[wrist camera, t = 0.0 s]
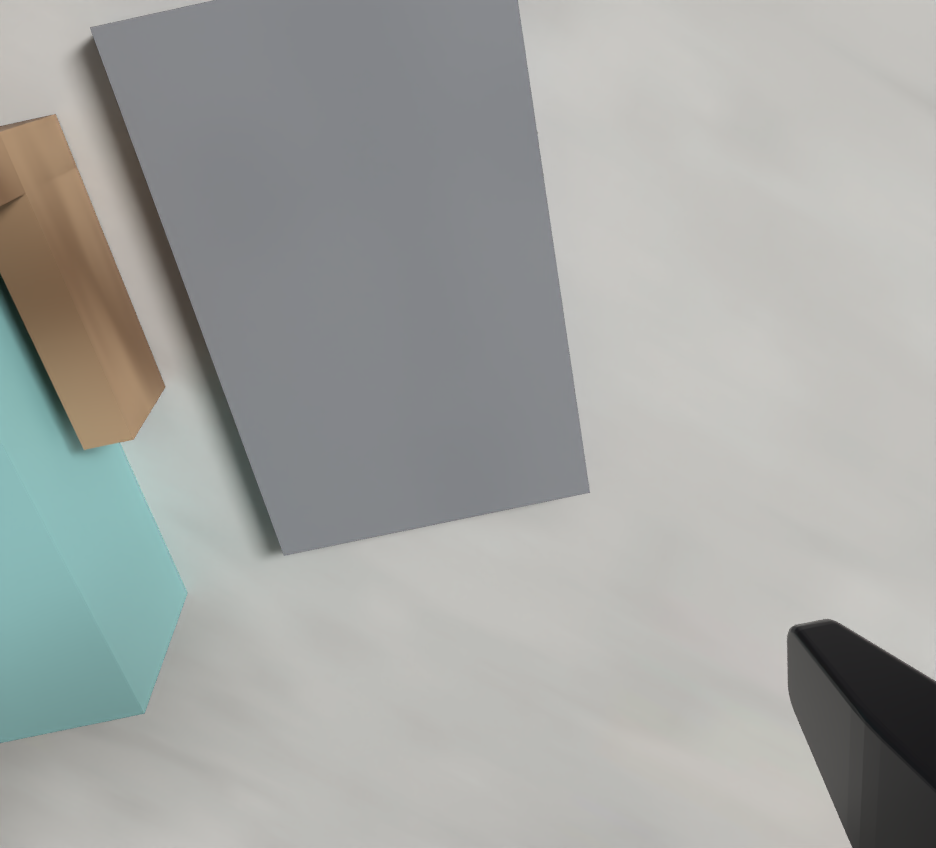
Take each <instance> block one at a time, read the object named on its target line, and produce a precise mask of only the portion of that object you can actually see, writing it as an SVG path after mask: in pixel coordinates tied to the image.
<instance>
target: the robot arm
mask: <svg viewBox="0 0 936 848" xmlns="http://www.w3.org/2000/svg"><path fill="white" fill-rule="evenodd" d="M787 661H788V691H789V696H790V700H791V703H792V707H793V709H794V712H795V714H796V717H797V719H798V721H799V724H800V726H801V729H802V731H803V733H804V736H805V738H806V740H807V743H808V745H809V747H810V750H811V752H812V754H813V757H814V759H815V761H816V764H817V766H818V768H819V771H820V773H821V775H822V778H823V780H824V783H825V785H826V787H827V790H828V792H829V794H830V797H831V799H832V801H833V804H834V806H835V808H836V811H837V813H838V815H839V818H840V820H841V822H842V825H843V827H844V829H845V832H846V834H847V836H848V839H849V841H850V843H851V845H852V848H936V681H934V680H933V679H931V678H929V677H928V676H926V675H925V674H923V673H921V672H920V671H918V670H916V669H915V668H913V667H911V666H910V665H908V664H906V663H905V662H903V661H901V660H900V659H898V658H896V657H895V656H893V655H891V654H890V653H888V652H886V651H885V650H883V649H882V648H880V647H878V646H877V645H875V644H873V643H872V642H870V641H868V640H867V639H865V638H863V637H862V636H860V635H858V634H857V633H855V632H853V631H852V630H850V629H848V628H847V627H845V626H843V625H842V624H840V623H838V622H836V621H834V620H830V619H823V620H818V621H813V622H808V623H803V624H798V625H795V626H793V627H791V628H790V629H789V632H788V636H787Z"/></svg>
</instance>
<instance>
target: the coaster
mask: <svg viewBox="0 0 936 848" xmlns="http://www.w3.org/2000/svg"><path fill="white" fill-rule="evenodd" d="M90 29H91V32H92V35H93V37H94V40H95V43H96V46H97V48H98V51H99V54H100V56H101V59H102V62H103V65H104V67H105V70H106V73H107V75H108V78H109V81H110V84H111V86H112V89H113V92H114V95H115V97H116V100H117V103H118V105H119V108H120V111H121V114H122V116H123V119H124V122H125V124H126V127H127V130H128V133H129V135H130V138H131V141H132V144H133V146H134V149H135V152H136V154H137V157H138V160H139V163H140V165H141V168H142V171H143V173H144V176H145V179H146V182H147V184H148V187H149V190H150V192H151V195H152V198H153V201H154V203H155V206H156V209H157V212H158V214H159V217H160V220H161V222H162V225H163V228H164V231H165V233H166V236H167V239H168V241H169V244H170V247H171V250H172V252H173V255H174V258H175V261H176V263H177V266H178V269H179V271H180V274H181V277H182V280H183V282H184V285H185V288H186V290H187V293H188V296H189V299H190V301H191V304H192V307H193V310H194V312H195V315H196V318H197V320H198V323H199V326H200V329H201V331H202V334H203V337H204V339H205V342H206V345H207V348H208V350H209V353H210V356H211V359H212V361H213V364H214V367H215V369H216V372H217V375H218V378H219V380H220V383H221V386H222V388H223V391H224V394H225V397H226V399H227V402H228V405H229V408H230V410H231V413H232V416H233V418H234V421H235V424H236V427H237V429H238V432H239V435H240V437H241V440H242V443H243V446H244V448H245V451H246V454H247V457H248V459H249V462H250V465H251V467H252V470H253V473H254V476H255V478H256V481H257V484H258V486H259V489H260V492H261V495H262V497H263V500H264V503H265V505H266V508H267V511H268V514H269V516H270V519H271V522H272V525H273V527H274V530H275V533H276V535H277V538H278V541H279V544H280V546H281V549H282V552H283V554H284V556H285V555H289V554H294V553H299V552H304V551H309V550H314V549H319V548H323V547H328V546H333V545H338V544H343V543H348V542H353V541H357V540H362V539H367V538H372V537H377V536H382V535H387V534H391V533H396V532H401V531H406V530H411V529H416V528H421V527H425V526H430V525H435V524H440V523H445V522H450V521H455V520H459V519H464V518H469V517H474V516H479V515H484V514H489V513H493V512H498V511H503V510H508V509H513V508H518V507H523V506H527V505H532V504H537V503H542V502H547V501H552V500H556V499H561V498H566V497H571V496H576V495H581V494H586V493H590V490H589V483H588V477H587V470H586V463H585V456H584V449H583V442H582V436H581V429H580V422H579V415H578V408H577V402H576V395H575V388H574V381H573V374H572V367H571V361H570V354H569V347H568V340H567V333H566V327H565V320H564V313H563V306H562V299H561V292H560V286H559V279H558V272H557V265H556V258H555V252H554V245H553V238H552V231H551V224H550V217H549V211H548V204H547V197H546V190H545V183H544V176H543V170H542V163H541V156H540V149H539V142H538V136H537V129H536V122H535V115H534V108H533V101H532V95H531V88H530V81H529V74H528V67H527V61H526V54H525V47H524V40H523V33H522V26H521V20H520V13H519V6H518V0H213V1H209V2H204V3H200V4H195V5H190V6H186V7H181V8H177V9H172V10H168V11H163V12H159V13H154V14H149V15H145V16H140V17H136V18H131V19H127V20H122V21H118V22H113V23H108V24H104V25H99V26H95V27H90Z"/></svg>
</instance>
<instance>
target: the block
mask: <svg viewBox="0 0 936 848" xmlns="http://www.w3.org/2000/svg"><path fill="white" fill-rule="evenodd" d="M186 596H187V591H186V589H185V586H184V584H183V582H182V580H181V577H180V575H179V573H178V571H177V569H176V566H175V564H174V562H173V560H172V557H171V555H170V553H169V551H168V549H167V546H166V544H165V542H164V540H163V537H162V535H161V533H160V531H159V529H158V526H157V524H156V522H155V520H154V517H153V515H152V513H151V511H150V509H149V506H148V504H147V502H146V500H145V497H144V495H143V493H142V491H141V489H140V486H139V484H138V482H137V480H136V477H135V475H134V473H133V471H132V469H131V466H130V464H129V462H128V460H127V457H126V455H125V453H124V451H123V449H122V446H121V444H120V443H115V444H110V445H105V446H100V447H96V448H91V449H86V450H84V449H83V447H82V445H81V443H80V441H79V439H78V436H77V434H76V432H75V430H74V428H73V426H72V424H71V422H70V420H69V417H68V415H67V413H66V411H65V409H64V407H63V405H62V403H61V400H60V398H59V396H58V394H57V392H56V390H55V388H54V386H53V384H52V381H51V379H50V377H49V375H48V373H47V371H46V369H45V367H44V364H43V362H42V360H41V358H40V356H39V354H38V352H37V350H36V348H35V345H34V343H33V341H32V339H31V337H30V335H29V333H28V331H27V329H26V326H25V324H24V322H23V320H22V318H21V316H20V314H19V312H18V309H17V307H16V305H15V303H14V301H13V299H12V297H11V295H10V293H9V290H8V288H7V286H6V284H5V282H4V280H3V278H2V276H1V274H0V743H3V742H8V741H13V740H18V739H23V738H27V737H32V736H37V735H42V734H47V733H52V732H57V731H62V730H67V729H72V728H76V727H81V726H86V725H91V724H96V723H101V722H106V721H111V720H116V719H121V718H125V717H130V716H135V715H140V714H144V713H145V711H146V708H147V705H148V702H149V699H150V697H151V694H152V691H153V688H154V685H155V683H156V680H157V677H158V674H159V671H160V669H161V666H162V663H163V660H164V657H165V655H166V652H167V649H168V646H169V643H170V641H171V638H172V635H173V632H174V629H175V627H176V624H177V621H178V618H179V615H180V613H181V610H182V607H183V604H184V601H185V599H186Z"/></svg>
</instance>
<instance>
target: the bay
mask: <svg viewBox="0 0 936 848" xmlns="http://www.w3.org/2000/svg"><path fill="white" fill-rule="evenodd" d="M0 274H1V276H2V278H3V280H4V282H5V284H6V286H7V288H8V290H9V293H10V295H11V297H12V299H13V301H14V303H15V305H16V307H17V309H18V312H19V314H20V316H21V318H22V320H23V322H24V324H25V326H26V329H27V331H28V333H29V335H30V337H31V339H32V341H33V343H34V345H35V348H36V350H37V352H38V354H39V356H40V358H41V360H42V362H43V364H44V367H45V369H46V371H47V373H48V375H49V377H50V379H51V381H52V384H53V386H54V388H55V390H56V392H57V394H58V396H59V398H60V400H61V403H62V405H63V407H64V409H65V411H66V413H67V415H68V417H69V420H70V422H71V424H72V426H73V428H74V430H75V432H76V434H77V436H78V439H79V441H80V443H81V445H82V447H83V449H84V450H86V449H91V448H96V447H100V446H105V445H110V444H115V443H120V442H124V441H129V440H134V438H135V436H136V435H137V433H138V431H139V430H140V428H141V426H142V425H143V423H144V421H145V420H146V418H147V416H148V415H149V413H150V412H151V410H152V408H153V407H154V405H155V403H156V402H157V400H158V398H159V397H160V395H161V393H162V392H163V390H164V388H165V385H164V382H163V380H162V377H161V375H160V372H159V370H158V367H157V365H156V362H155V360H154V357H153V355H152V352H151V350H150V347H149V345H148V342H147V340H146V337H145V335H144V333H143V330H142V328H141V325H140V323H139V320H138V318H137V315H136V313H135V310H134V308H133V305H132V303H131V300H130V298H129V295H128V293H127V290H126V288H125V285H124V283H123V280H122V278H121V275H120V273H119V270H118V268H117V265H116V263H115V261H114V258H113V256H112V253H111V251H110V248H109V246H108V243H107V241H106V238H105V236H104V233H103V231H102V228H101V226H100V223H99V221H98V218H97V216H96V213H95V211H94V208H93V206H92V203H91V201H90V198H89V196H88V193H87V191H86V189H85V186H84V184H83V181H82V179H81V176H80V174H79V171H78V169H77V166H76V164H75V161H74V159H73V156H72V154H71V151H70V149H69V146H68V144H67V141H66V139H65V136H64V134H63V131H62V129H61V126H60V124H59V122H58V119H57V117H56V114H54V115H50V116H45V117H40V118H36V119H31V120H27V121H22V122H17V123H13V124H8V125H4V126H0Z"/></svg>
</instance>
